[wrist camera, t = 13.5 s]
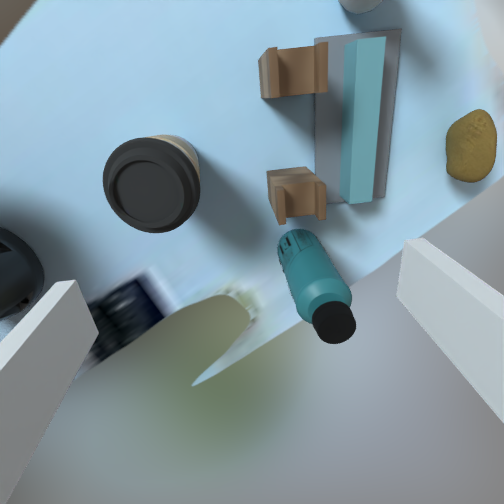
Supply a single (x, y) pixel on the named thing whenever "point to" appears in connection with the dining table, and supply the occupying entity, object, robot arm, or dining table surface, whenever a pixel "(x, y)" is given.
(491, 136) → the potato
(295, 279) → the beverage bottle
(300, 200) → the post
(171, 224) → the coffee cup
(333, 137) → the mat
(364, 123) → the rail
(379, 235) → the dining table surface
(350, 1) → the salt shaker
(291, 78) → the post
